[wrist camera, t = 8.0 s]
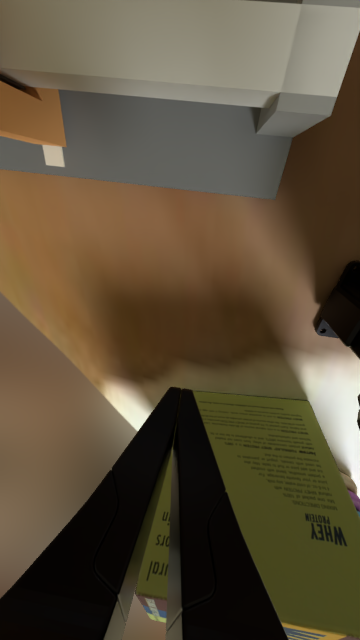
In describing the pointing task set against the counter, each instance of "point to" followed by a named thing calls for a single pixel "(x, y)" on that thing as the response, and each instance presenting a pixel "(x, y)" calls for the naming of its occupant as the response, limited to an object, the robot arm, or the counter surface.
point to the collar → (31, 115)
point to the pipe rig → (177, 86)
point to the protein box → (276, 515)
